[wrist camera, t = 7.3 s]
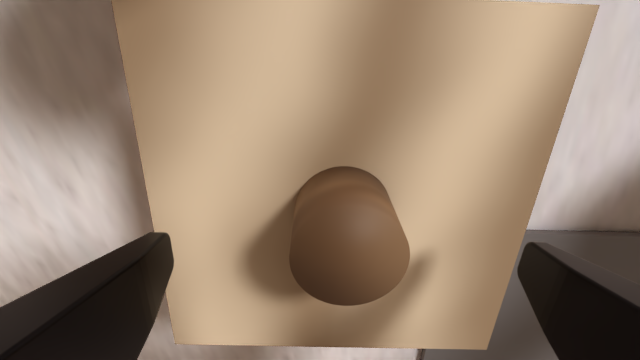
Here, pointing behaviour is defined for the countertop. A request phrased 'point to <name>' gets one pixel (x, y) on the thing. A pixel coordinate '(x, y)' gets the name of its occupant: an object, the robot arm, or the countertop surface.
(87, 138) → the countertop surface
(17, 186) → the countertop surface
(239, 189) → the lid
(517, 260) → the mat
